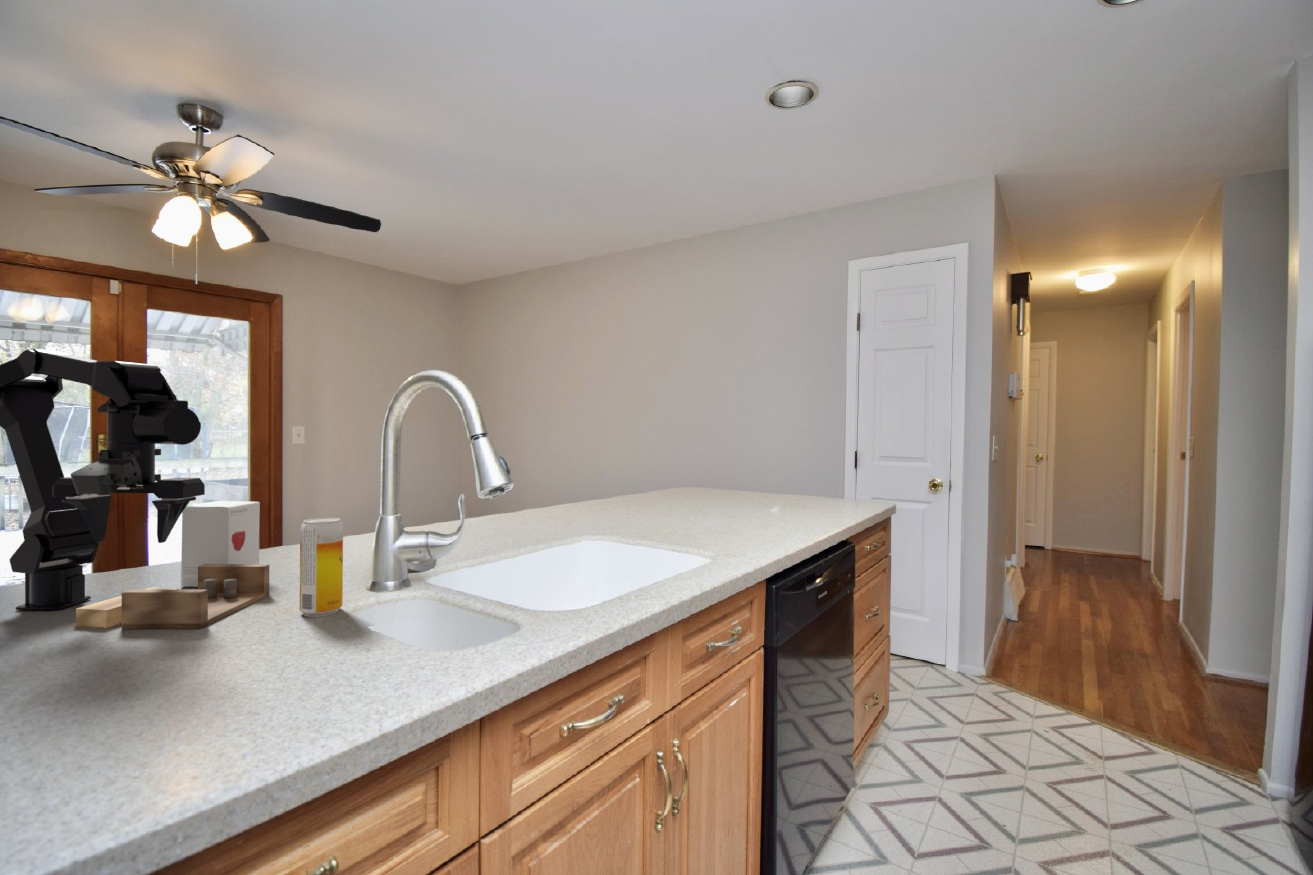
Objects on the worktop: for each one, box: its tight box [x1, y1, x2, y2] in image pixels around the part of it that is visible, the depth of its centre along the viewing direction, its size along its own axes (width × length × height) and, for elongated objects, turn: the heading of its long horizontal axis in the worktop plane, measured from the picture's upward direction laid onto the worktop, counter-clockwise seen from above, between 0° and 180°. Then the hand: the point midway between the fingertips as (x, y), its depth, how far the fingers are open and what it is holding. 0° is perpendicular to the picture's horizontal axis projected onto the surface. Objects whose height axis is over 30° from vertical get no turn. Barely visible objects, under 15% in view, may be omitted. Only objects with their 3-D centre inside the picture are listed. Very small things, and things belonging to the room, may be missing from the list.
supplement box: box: [180, 500, 261, 588], centre depth 116 cm, size 9×9×15 cm
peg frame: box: [121, 563, 270, 630], centre depth 99 cm, size 11×18×5 cm, turn 4°
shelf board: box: [75, 586, 180, 629], centre depth 96 cm, size 5×12×3 cm, turn 174°
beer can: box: [299, 516, 344, 618], centre depth 99 cm, size 6×6×15 cm
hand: (130, 542), depth 96 cm, fingers open, 9 cm apart
